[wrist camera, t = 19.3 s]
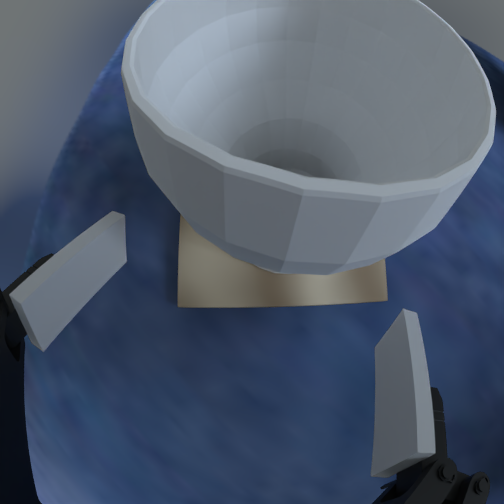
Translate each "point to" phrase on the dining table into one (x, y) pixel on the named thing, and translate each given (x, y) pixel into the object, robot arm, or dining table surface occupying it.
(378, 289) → the oak board
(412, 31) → the cup
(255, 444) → the dining table surface
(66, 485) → the dining table surface
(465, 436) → the dining table surface
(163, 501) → the dining table surface
